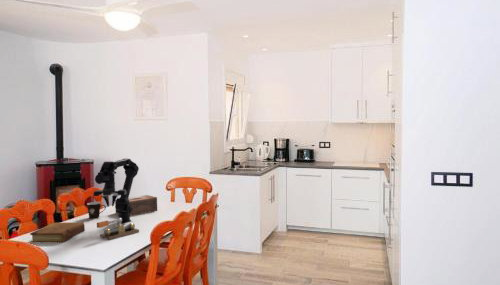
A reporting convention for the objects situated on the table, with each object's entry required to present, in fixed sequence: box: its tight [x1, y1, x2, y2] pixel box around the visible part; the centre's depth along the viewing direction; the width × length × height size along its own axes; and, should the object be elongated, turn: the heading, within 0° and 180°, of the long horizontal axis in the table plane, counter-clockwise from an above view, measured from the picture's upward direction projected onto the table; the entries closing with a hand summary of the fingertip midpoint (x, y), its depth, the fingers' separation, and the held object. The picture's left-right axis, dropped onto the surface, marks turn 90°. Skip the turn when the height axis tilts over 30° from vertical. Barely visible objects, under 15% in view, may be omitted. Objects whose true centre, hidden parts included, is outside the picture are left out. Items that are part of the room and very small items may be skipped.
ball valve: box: [99, 222, 140, 240], centre depth 216 cm, size 19×10×7 cm, turn 140°
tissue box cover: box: [114, 194, 158, 216], centre depth 275 cm, size 26×14×10 cm, turn 134°
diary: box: [29, 222, 86, 244], centre depth 214 cm, size 23×19×6 cm
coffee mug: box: [86, 201, 107, 220], centre depth 258 cm, size 12×9×10 cm
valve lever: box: [96, 217, 122, 229], centre depth 211 cm, size 3×15×3 cm, turn 143°
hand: (110, 206), depth 232 cm, fingers open, 2 cm apart
